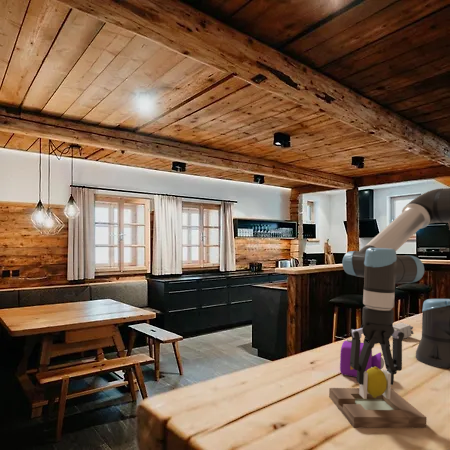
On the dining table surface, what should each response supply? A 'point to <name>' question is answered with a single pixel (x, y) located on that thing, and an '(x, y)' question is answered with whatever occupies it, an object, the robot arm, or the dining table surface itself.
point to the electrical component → (404, 329)
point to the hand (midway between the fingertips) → (374, 396)
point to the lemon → (376, 382)
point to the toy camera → (346, 355)
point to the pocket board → (376, 410)
